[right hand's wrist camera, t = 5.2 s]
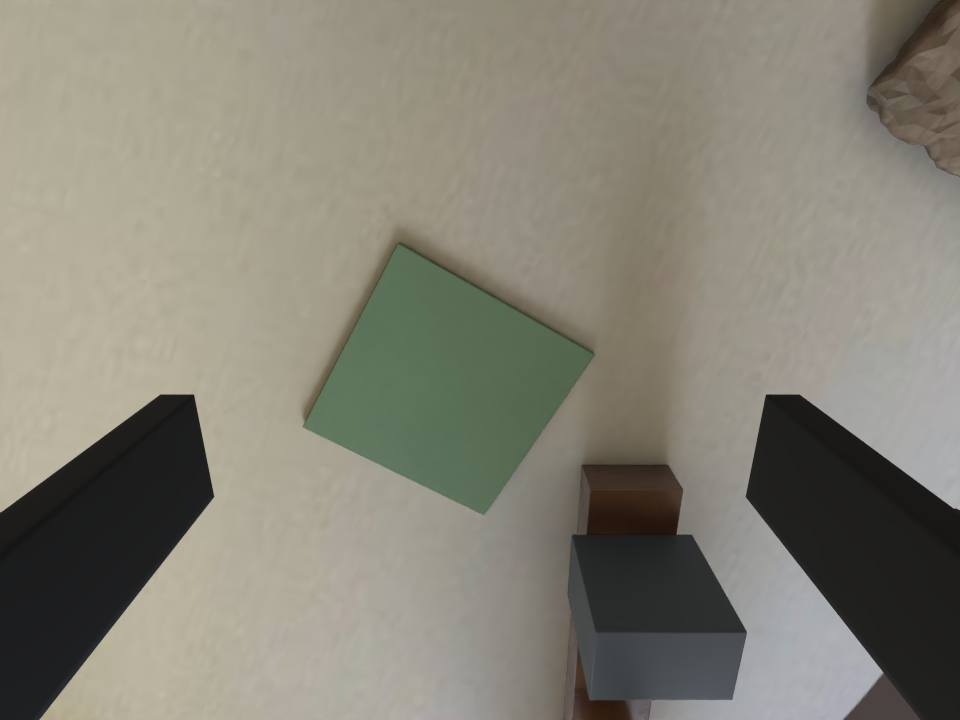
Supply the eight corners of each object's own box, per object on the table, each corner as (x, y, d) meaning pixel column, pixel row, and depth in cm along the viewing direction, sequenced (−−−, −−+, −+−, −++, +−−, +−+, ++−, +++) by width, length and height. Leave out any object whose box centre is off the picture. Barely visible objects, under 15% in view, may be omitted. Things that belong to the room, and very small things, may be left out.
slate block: (571, 534, 36) (595, 632, 29) (692, 534, 36) (747, 632, 29) (567, 593, 38) (589, 701, 30) (682, 593, 38) (732, 700, 30)
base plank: (581, 464, 38) (611, 552, 29) (668, 464, 38) (722, 552, 29) (562, 729, 47) (580, 854, 38) (632, 729, 47) (665, 854, 38)
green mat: (399, 242, 33) (398, 243, 32) (593, 352, 35) (594, 354, 35) (304, 424, 37) (302, 427, 36) (484, 512, 39) (484, 515, 39)
